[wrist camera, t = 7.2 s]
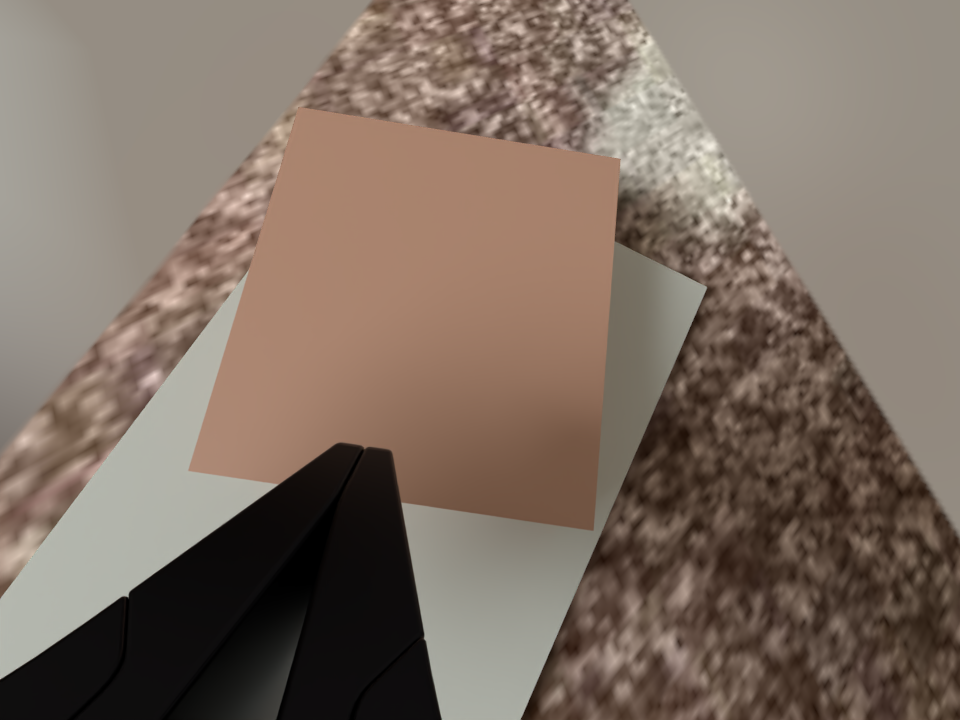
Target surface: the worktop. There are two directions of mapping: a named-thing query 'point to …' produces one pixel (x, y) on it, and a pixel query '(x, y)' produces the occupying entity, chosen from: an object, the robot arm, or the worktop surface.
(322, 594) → the robot arm
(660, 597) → the worktop surface
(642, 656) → the worktop surface
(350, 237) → the terracotta slab
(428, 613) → the rubber mat
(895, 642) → the worktop surface
